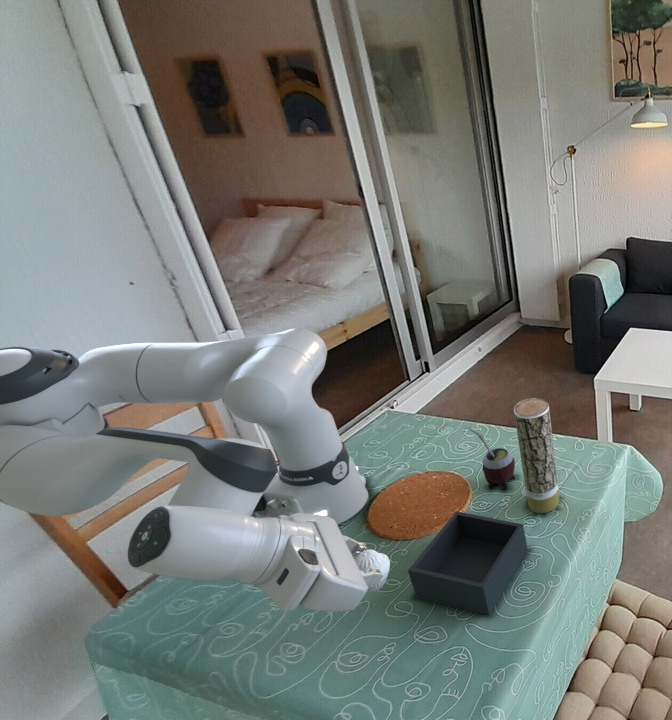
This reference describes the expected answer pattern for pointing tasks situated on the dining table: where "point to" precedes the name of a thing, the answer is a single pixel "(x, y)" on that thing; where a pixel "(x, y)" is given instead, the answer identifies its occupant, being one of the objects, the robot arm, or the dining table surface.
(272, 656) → the dining table surface
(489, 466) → the mate gourd
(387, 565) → the white rounded piece
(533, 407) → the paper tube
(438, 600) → the bin
